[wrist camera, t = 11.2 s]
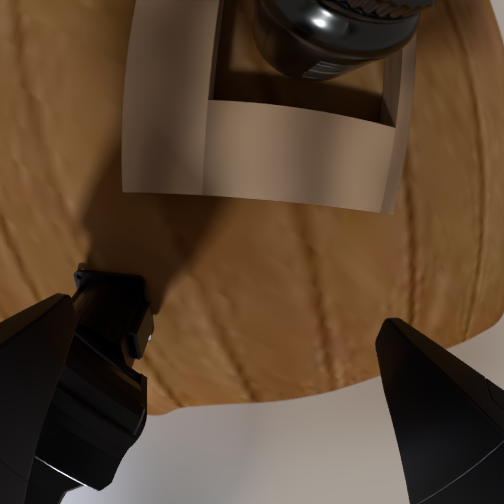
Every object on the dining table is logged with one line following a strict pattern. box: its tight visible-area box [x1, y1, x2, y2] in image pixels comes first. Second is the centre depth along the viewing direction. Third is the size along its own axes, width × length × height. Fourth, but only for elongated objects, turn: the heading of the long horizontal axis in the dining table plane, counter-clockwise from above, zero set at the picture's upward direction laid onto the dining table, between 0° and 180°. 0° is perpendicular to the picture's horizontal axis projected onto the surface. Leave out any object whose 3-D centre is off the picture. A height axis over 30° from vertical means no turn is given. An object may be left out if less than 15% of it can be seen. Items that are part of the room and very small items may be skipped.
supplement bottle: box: [253, 0, 439, 82], centre depth 9 cm, size 7×7×12 cm
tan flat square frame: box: [122, 0, 416, 215], centre depth 14 cm, size 17×18×2 cm
